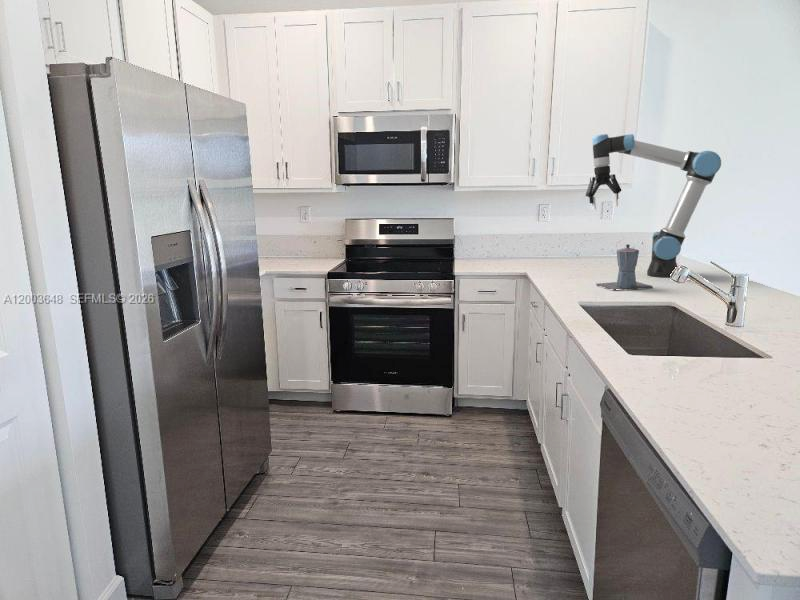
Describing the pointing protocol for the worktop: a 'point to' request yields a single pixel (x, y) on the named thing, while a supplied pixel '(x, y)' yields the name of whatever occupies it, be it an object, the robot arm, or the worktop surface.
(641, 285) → the charcoal mat
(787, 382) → the worktop surface
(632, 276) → the moka pot
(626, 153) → the robot arm
